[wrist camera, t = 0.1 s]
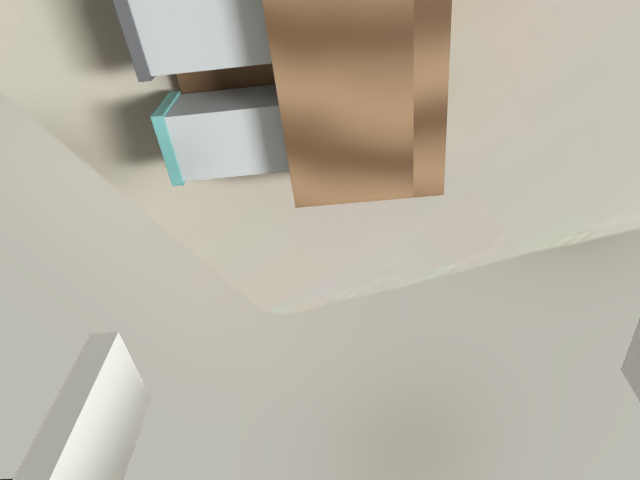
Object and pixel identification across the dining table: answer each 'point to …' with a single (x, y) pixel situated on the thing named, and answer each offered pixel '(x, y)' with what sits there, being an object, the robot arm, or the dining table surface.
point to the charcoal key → (193, 35)
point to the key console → (354, 95)
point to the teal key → (221, 133)
